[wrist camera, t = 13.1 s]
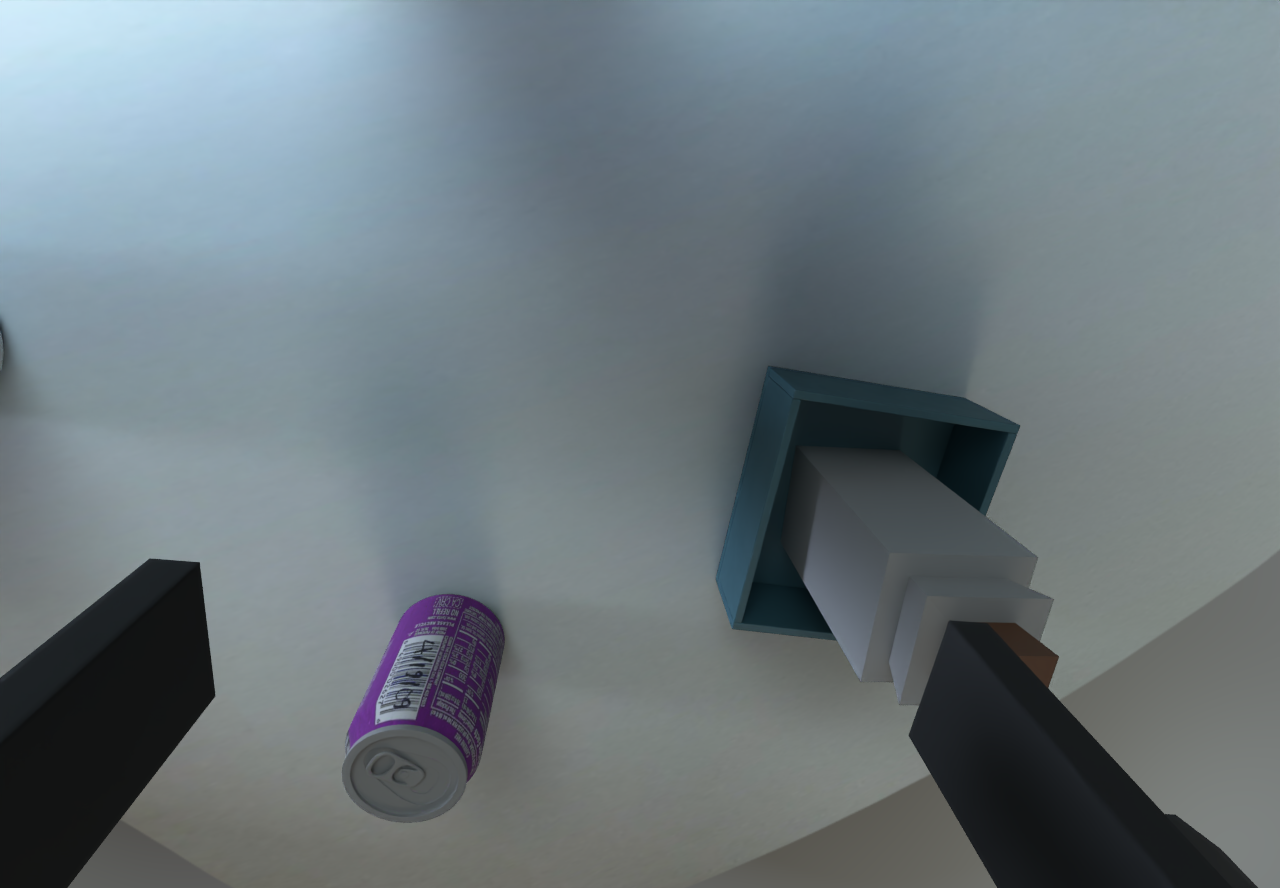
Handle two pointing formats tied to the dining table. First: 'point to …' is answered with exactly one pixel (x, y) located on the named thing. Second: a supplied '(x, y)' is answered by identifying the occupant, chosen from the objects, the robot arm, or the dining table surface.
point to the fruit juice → (1, 350)
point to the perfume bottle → (905, 565)
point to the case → (846, 418)
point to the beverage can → (425, 711)
